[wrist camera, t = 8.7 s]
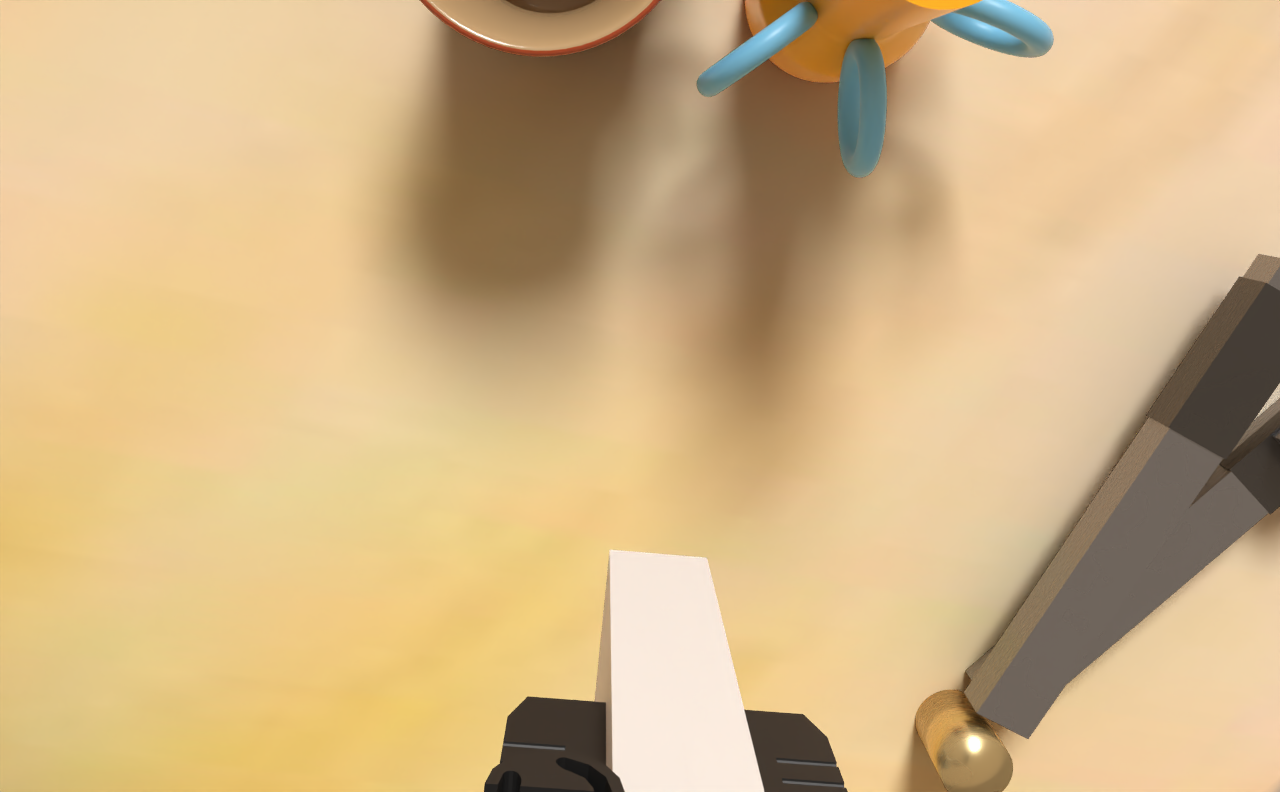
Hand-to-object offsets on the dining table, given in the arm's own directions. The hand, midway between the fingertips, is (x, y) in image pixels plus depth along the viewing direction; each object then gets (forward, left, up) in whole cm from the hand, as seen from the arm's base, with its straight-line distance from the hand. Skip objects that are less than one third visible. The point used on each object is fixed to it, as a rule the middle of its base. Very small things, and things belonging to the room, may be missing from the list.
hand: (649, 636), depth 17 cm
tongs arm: (+9, -18, -24) cm, 31 cm away
